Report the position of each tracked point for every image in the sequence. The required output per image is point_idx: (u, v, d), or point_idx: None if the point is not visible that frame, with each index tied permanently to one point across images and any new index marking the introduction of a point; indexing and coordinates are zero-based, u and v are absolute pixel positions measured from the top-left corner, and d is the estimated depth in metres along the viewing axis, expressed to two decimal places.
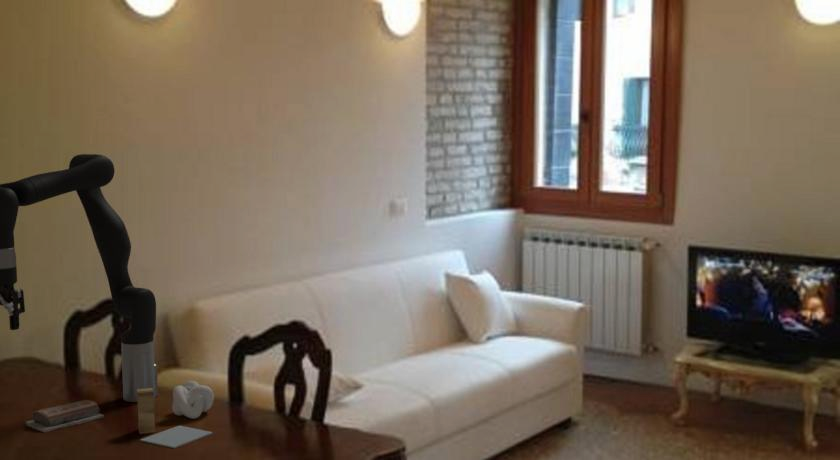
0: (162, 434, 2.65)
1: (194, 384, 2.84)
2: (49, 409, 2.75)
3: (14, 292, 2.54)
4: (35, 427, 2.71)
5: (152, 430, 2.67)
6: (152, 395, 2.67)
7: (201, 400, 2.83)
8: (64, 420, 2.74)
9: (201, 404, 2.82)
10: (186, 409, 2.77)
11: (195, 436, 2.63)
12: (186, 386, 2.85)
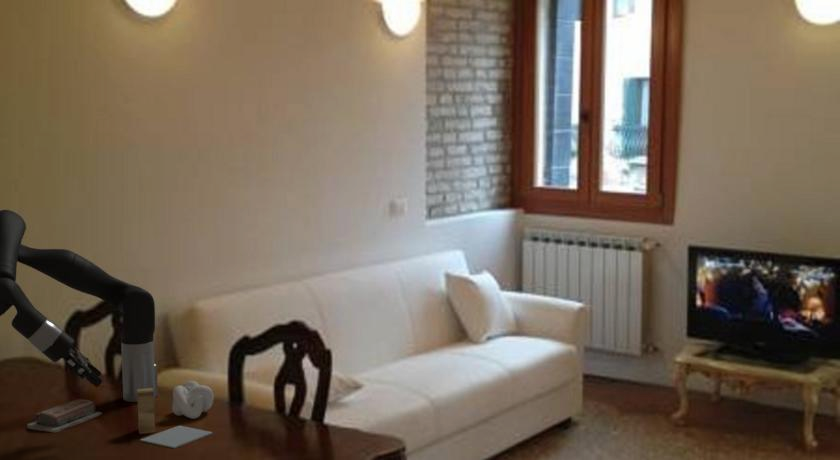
0: (162, 434, 2.65)
1: (194, 384, 2.84)
2: (51, 410, 2.74)
3: None
4: (41, 428, 2.70)
5: (152, 430, 2.67)
6: (152, 395, 2.67)
7: (201, 400, 2.83)
8: (69, 420, 2.74)
9: (201, 404, 2.82)
10: (186, 409, 2.77)
11: (195, 436, 2.63)
12: (186, 386, 2.85)
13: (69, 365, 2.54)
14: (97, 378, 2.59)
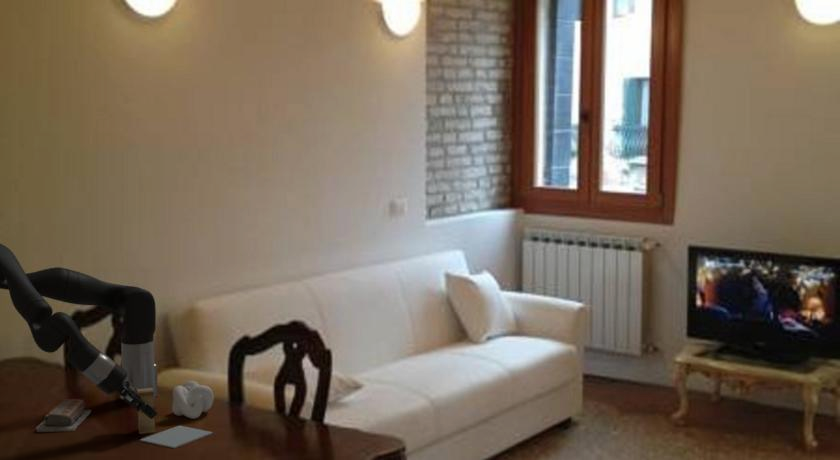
0: (162, 434, 2.65)
1: (194, 384, 2.84)
2: (57, 411, 2.73)
3: None
4: (56, 429, 2.69)
5: (152, 430, 2.67)
6: (152, 395, 2.67)
7: (201, 400, 2.83)
8: (75, 418, 2.75)
9: (201, 404, 2.82)
10: (186, 409, 2.77)
11: (195, 436, 2.63)
12: (186, 386, 2.85)
13: (127, 401, 2.60)
14: (152, 410, 2.66)
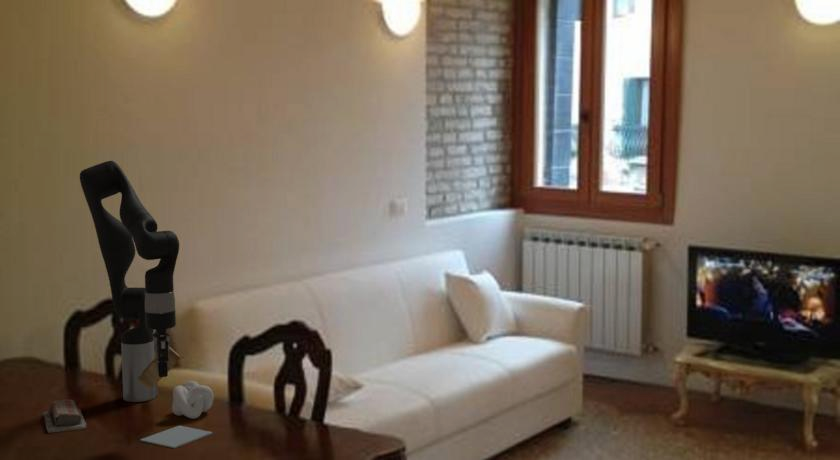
0: (162, 434, 2.65)
1: (194, 384, 2.84)
2: (62, 411, 2.73)
3: None
4: (68, 428, 2.70)
5: (149, 387, 2.58)
6: (176, 360, 2.60)
7: (201, 400, 2.83)
8: None
9: (201, 404, 2.82)
10: (186, 409, 2.77)
11: (195, 436, 2.63)
12: (186, 386, 2.85)
13: (160, 346, 2.54)
14: (166, 370, 2.58)
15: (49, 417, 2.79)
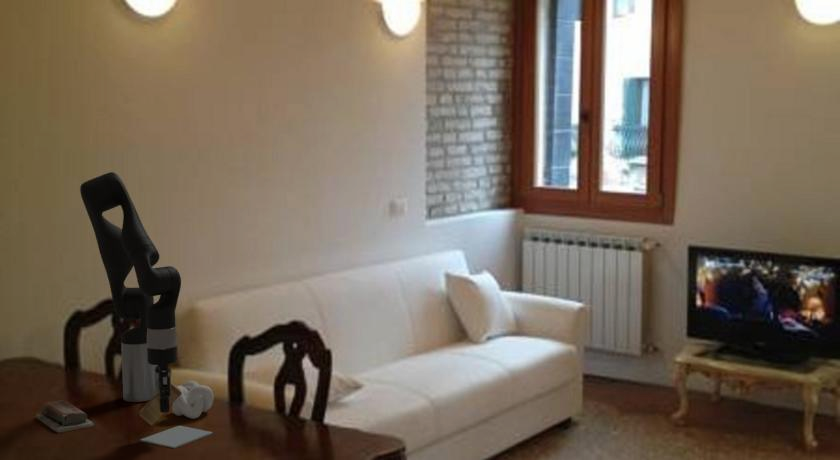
0: (162, 434, 2.65)
1: (194, 384, 2.84)
2: (67, 410, 2.74)
3: None
4: (77, 427, 2.71)
5: (151, 422, 2.59)
6: (178, 395, 2.61)
7: (201, 400, 2.83)
8: None
9: (201, 404, 2.82)
10: (186, 409, 2.77)
11: (195, 436, 2.63)
12: (186, 386, 2.85)
13: (161, 382, 2.55)
14: (167, 406, 2.59)
15: (47, 418, 2.77)
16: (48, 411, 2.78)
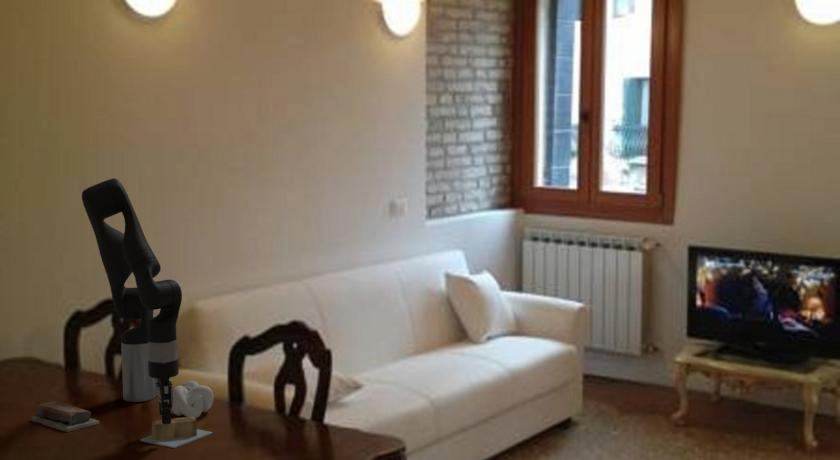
0: None
1: (194, 384, 2.84)
2: (70, 410, 2.74)
3: None
4: (85, 425, 2.72)
5: (155, 437, 2.60)
6: (193, 434, 2.63)
7: (201, 400, 2.83)
8: None
9: (201, 404, 2.82)
10: (186, 409, 2.77)
11: (195, 436, 2.63)
12: (186, 386, 2.85)
13: (163, 390, 2.54)
14: None
15: (46, 420, 2.76)
16: (46, 412, 2.77)
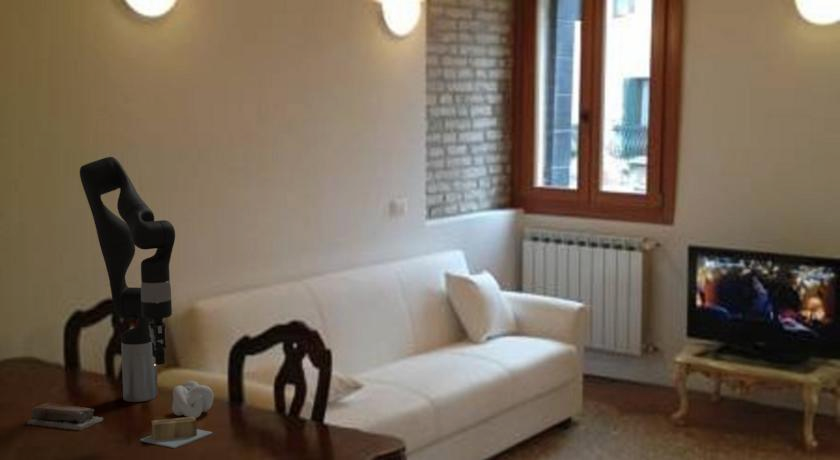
0: None
1: (194, 384, 2.84)
2: (75, 409, 2.75)
3: None
4: (93, 423, 2.75)
5: (155, 437, 2.60)
6: (193, 434, 2.63)
7: (201, 400, 2.83)
8: None
9: (201, 404, 2.82)
10: (186, 409, 2.77)
11: (195, 436, 2.63)
12: (186, 386, 2.85)
13: (156, 330, 2.54)
14: (163, 358, 2.57)
15: (47, 421, 2.75)
16: (46, 414, 2.76)
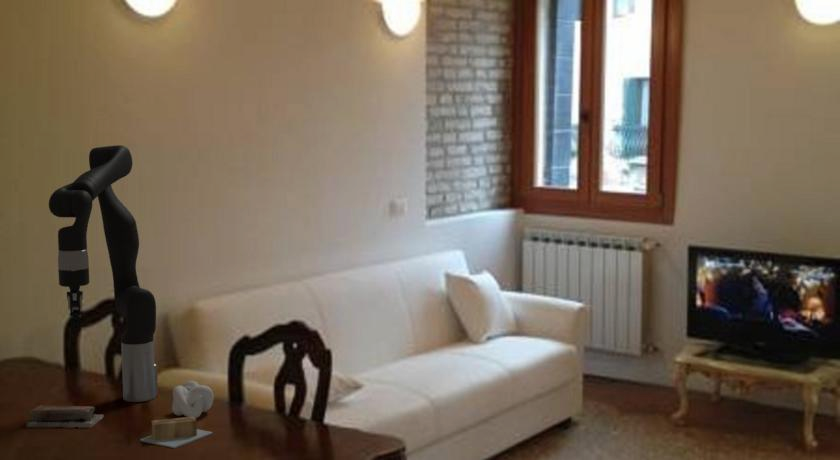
0: None
1: (194, 384, 2.84)
2: (78, 408, 2.76)
3: None
4: (97, 420, 2.77)
5: (155, 437, 2.60)
6: (193, 434, 2.63)
7: (201, 400, 2.83)
8: None
9: (201, 404, 2.82)
10: (186, 409, 2.77)
11: (195, 436, 2.63)
12: (186, 386, 2.85)
13: (71, 297, 2.57)
14: (79, 325, 2.61)
15: (50, 422, 2.74)
16: (47, 415, 2.74)
